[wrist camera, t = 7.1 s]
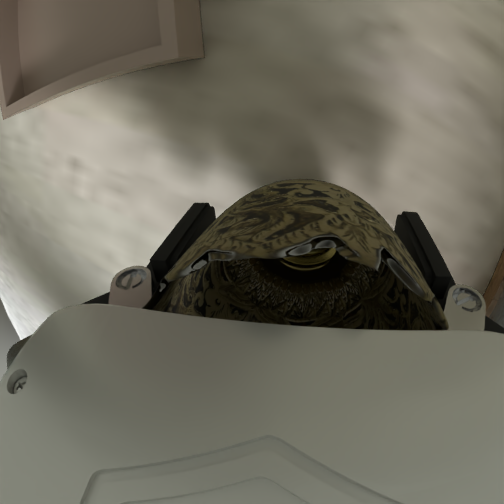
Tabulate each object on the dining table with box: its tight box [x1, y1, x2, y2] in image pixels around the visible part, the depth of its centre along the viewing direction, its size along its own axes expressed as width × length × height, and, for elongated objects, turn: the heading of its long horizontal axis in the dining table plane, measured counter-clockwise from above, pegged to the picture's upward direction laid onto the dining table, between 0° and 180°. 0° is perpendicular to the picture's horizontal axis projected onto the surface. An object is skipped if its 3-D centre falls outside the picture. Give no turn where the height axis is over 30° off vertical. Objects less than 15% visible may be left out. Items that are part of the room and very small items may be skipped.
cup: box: [142, 179, 449, 330], centre depth 9 cm, size 8×7×8 cm
